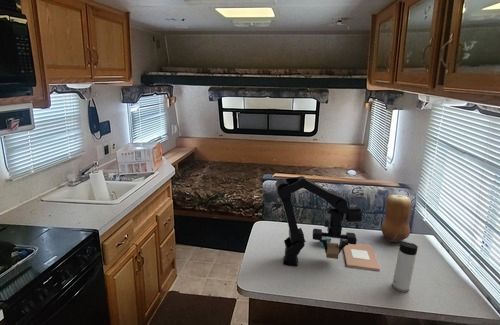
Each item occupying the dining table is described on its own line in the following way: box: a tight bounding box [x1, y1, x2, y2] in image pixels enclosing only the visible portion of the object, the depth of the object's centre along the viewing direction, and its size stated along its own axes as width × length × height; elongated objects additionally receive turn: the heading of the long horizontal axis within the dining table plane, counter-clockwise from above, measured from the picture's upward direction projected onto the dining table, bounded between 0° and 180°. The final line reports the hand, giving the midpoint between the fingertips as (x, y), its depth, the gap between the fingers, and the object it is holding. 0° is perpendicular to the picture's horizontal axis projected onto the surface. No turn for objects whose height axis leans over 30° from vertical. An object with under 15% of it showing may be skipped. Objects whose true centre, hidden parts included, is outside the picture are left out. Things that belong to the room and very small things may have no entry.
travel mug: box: [391, 241, 419, 293], centre depth 126 cm, size 6×7×20 cm
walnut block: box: [325, 241, 340, 260], centre depth 143 cm, size 5×5×5 cm
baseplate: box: [342, 243, 381, 271], centre depth 150 cm, size 20×14×1 cm
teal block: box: [318, 237, 332, 248], centre depth 158 cm, size 5×5×5 cm
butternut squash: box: [381, 194, 412, 243], centre depth 162 cm, size 14×13×25 cm
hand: (332, 253), depth 143 cm, fingers closed on walnut block, 5 cm apart
